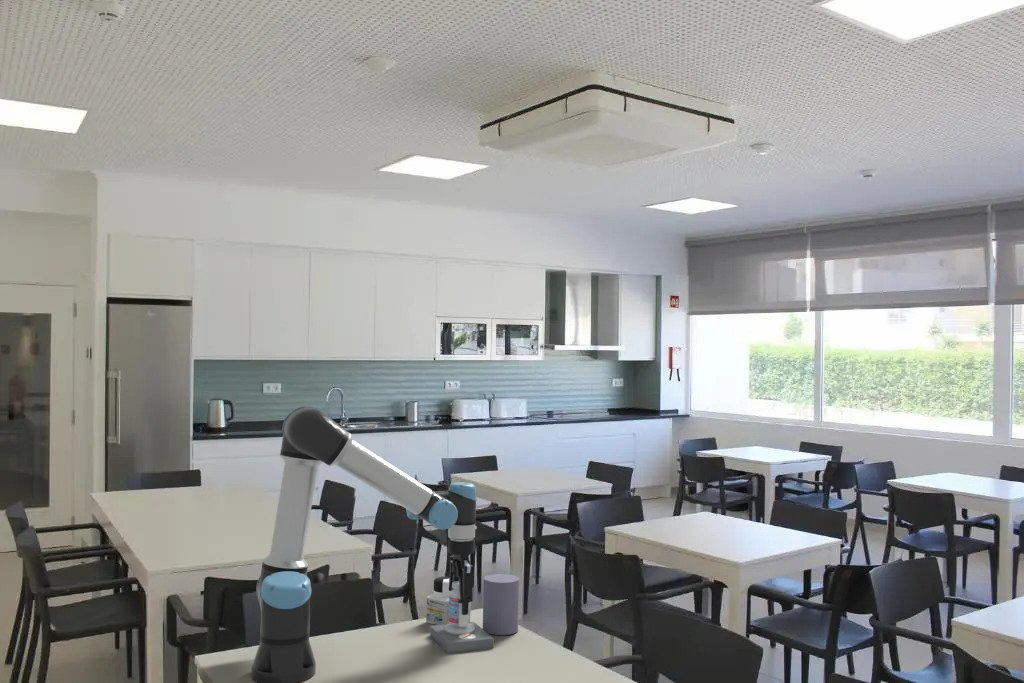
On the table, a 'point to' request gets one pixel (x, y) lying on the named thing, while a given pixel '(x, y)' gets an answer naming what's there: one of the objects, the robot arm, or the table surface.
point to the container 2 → (501, 604)
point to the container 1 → (438, 602)
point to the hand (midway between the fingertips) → (459, 622)
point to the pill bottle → (455, 604)
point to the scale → (461, 637)
